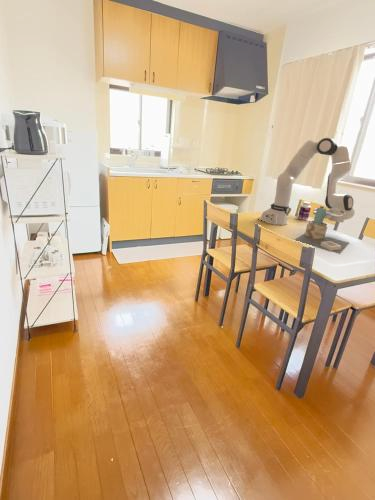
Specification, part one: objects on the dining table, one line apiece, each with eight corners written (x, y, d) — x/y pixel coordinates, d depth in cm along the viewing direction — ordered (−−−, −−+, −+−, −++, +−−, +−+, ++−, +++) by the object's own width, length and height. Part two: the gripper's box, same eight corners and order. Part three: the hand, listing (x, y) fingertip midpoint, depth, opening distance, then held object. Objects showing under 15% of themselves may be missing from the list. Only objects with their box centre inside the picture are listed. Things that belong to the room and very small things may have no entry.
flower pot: (280, 213, 244) (281, 205, 241) (291, 216, 238) (293, 208, 235) (275, 215, 236) (277, 207, 234) (287, 218, 231) (288, 210, 228)
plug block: (312, 224, 186) (317, 205, 181) (317, 224, 188) (322, 205, 183) (317, 226, 183) (322, 207, 178) (321, 226, 184) (326, 207, 179)
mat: (292, 241, 177) (293, 240, 177) (306, 232, 197) (306, 231, 197) (339, 254, 161) (339, 253, 161) (349, 243, 181) (349, 242, 181)
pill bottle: (302, 220, 227) (306, 203, 222) (295, 217, 234) (299, 201, 229) (309, 220, 230) (314, 203, 225) (302, 217, 237) (306, 201, 232)
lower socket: (320, 245, 171) (321, 242, 170) (329, 244, 174) (330, 241, 173) (330, 250, 165) (331, 246, 164) (340, 249, 168) (341, 245, 167)
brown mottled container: (304, 234, 190) (307, 220, 187) (314, 233, 194) (317, 220, 190) (314, 238, 183) (318, 224, 179) (324, 238, 186) (328, 224, 182)
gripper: (323, 206, 195) (308, 206, 190) (348, 213, 178) (332, 214, 173) (321, 214, 197) (306, 215, 192) (345, 223, 180) (330, 224, 175)
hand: (319, 215), depth 182 cm, fingers open, 8 cm apart
